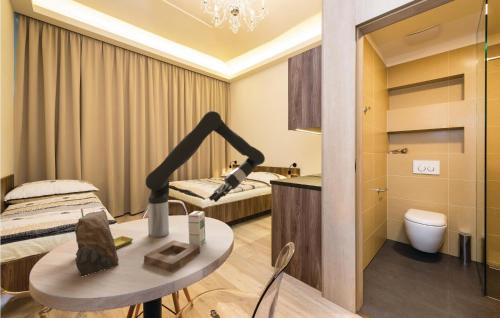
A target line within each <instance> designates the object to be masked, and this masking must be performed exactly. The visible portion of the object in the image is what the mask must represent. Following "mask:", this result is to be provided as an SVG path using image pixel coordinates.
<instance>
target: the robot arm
mask: <svg viewBox="0 0 500 318" xmlns="http://www.w3.org/2000/svg"><path fill="white" fill-rule="evenodd" d="M212 132H215V133H216V134H218V135H219V136H220V137H222V138H223V139H224V140H225V142H227V143H228V144H229V145H230V146H231V147H232V148H234V150H236V151H237V152H238V153H239V154H241V155H242V156H246V157H247V158H246V159H245V160H244V161H243V162H242V163H241V164H240V165H239V166H238V167H236V168H235V169H234V170H233V171H231V172H230V173H229V174H228V175H227V176H226V177H225V178H224V179H223V180H224V182H225V183H224V184H223V183H222V184H220V185H219V186H218V187H217V188H216V189H215V190H214V191H213V193H212V194H211V195H210V196H209V197H208V199H209V200H210V201H214V203H217V202H218V201H220V199H221V198H223V197H226V196H227V195H228V194H229V193H230V192H231V191H232V190H236V188H238V187H239V186H240V185H241V184H242V183H243V182H244V181H245V180H246V178H247V177H248V176H250V174H251V173H252V172H253V170H254V169H255V168H256V167H257V166H260V165H262V164H263V163H264V162H265V160H266V159H265V155H264V153H263V152H262V151H260V150H259V149H257V148H256V147H254V146H252V145H251V144H249V143H248V141H246V140H245V139H244V138H243V137H242V136H240V135H239V134H238V133H236V132H235V131H233V130H232V129H231V128H230V127H229V126H228V125H227V124H226V123H225V122H224V120H223V119H222V117H221V115H220V113H219V112H218V111H214V110H210V111H207V112H205V114H204V115H203V116H202V118H201V119H200V121H199V122H198V123H197V124H196V125H195V127H194V128H193V129H192V130H191V131H190V132H189V133H187V134H186V135H185V136H184V137H183V138H182V139H181V140H180V141H179V142H178V143H177V144H176V145H175V147H174V148H173V149H172V150H171V152H169V154H168V155H167V156H166V157H165V159H164V160H163V161H162V162H161V163H160V164H159V165H157V167H156V168H154V170H153V171H151V172H150V173H149V174H148V175H147V176H146V179H145V185H146V187H147V189H149V190H150V191H151V192H150V195H149V197H148V217H147V227H148V236H149V237H150V238H162V237H165V236H168V235H169V234H170V227H169V226H170V223H169V222H170V221H169V196H170V177H171V175H173V173H174V172H175V171H177V170H178V169H179V168H180V167H182V166H183V165H185V163H186V162H188V161H189V160H191V157H192V156H194V155H195V153H196V152H197V151H198V149H199V148H200V147H201V146H202V144H203V142H205V140H206V138H207V137H209V135H211V133H212Z"/></svg>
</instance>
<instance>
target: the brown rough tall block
mask: <svg viewBox="0 0 500 318" xmlns="http://www.w3.org/2000/svg"><path fill="white" fill-rule="evenodd" d="M107 215H108V214H107V212H106V210H105V209H102V210H100V211H95V212H94V211H93V212H88V213H86V214H85V215H84V216H83V217H82V216H81V217H80V218H78V219H77V220H78V221H79V224H78V226H77V230H76V234H75V238H76V244H77V248H78V249H77V251H76V253H75V255H76V258H75V260H74V261H75V266H76V268H77V270H78V271H79V273H80V277H81V276H84V277H86V276H85V275H87V276H89V275H88V274H90V275H92V274H91V273H93V274H95V273H94V272H97V273H99V272H101V271H100V270H102V271H104V269H105V270H109V269H112V268H114V267H117V266H119V256H118V254H117V248H116V247H115V244H114V240H113V239H114V237H113V235H112V231H111V228H110V223H109V218H108V216H107ZM78 221H77V222H78ZM111 267H112V268H111ZM98 271H99V272H98Z"/></svg>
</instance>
